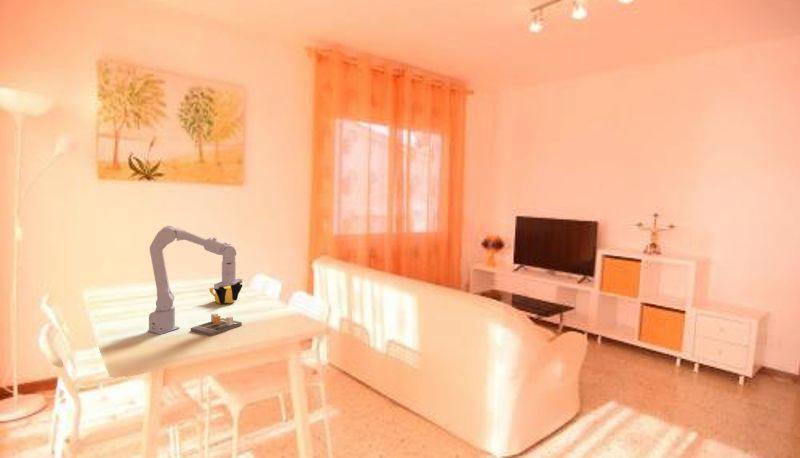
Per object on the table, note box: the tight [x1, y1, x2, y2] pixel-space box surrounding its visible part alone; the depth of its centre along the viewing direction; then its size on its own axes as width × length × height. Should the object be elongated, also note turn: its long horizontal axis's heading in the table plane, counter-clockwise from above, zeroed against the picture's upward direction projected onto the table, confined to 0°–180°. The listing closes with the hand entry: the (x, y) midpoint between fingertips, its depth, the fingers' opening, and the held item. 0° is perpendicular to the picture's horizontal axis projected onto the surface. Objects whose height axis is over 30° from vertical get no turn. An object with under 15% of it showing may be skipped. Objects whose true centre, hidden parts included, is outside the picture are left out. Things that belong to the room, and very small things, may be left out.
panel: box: [190, 312, 243, 337], centre depth 193 cm, size 17×12×5 cm
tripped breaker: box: [213, 315, 221, 325], centre depth 192 cm, size 2×2×4 cm
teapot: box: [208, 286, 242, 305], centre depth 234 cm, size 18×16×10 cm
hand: (228, 301), depth 198 cm, fingers open, 7 cm apart
